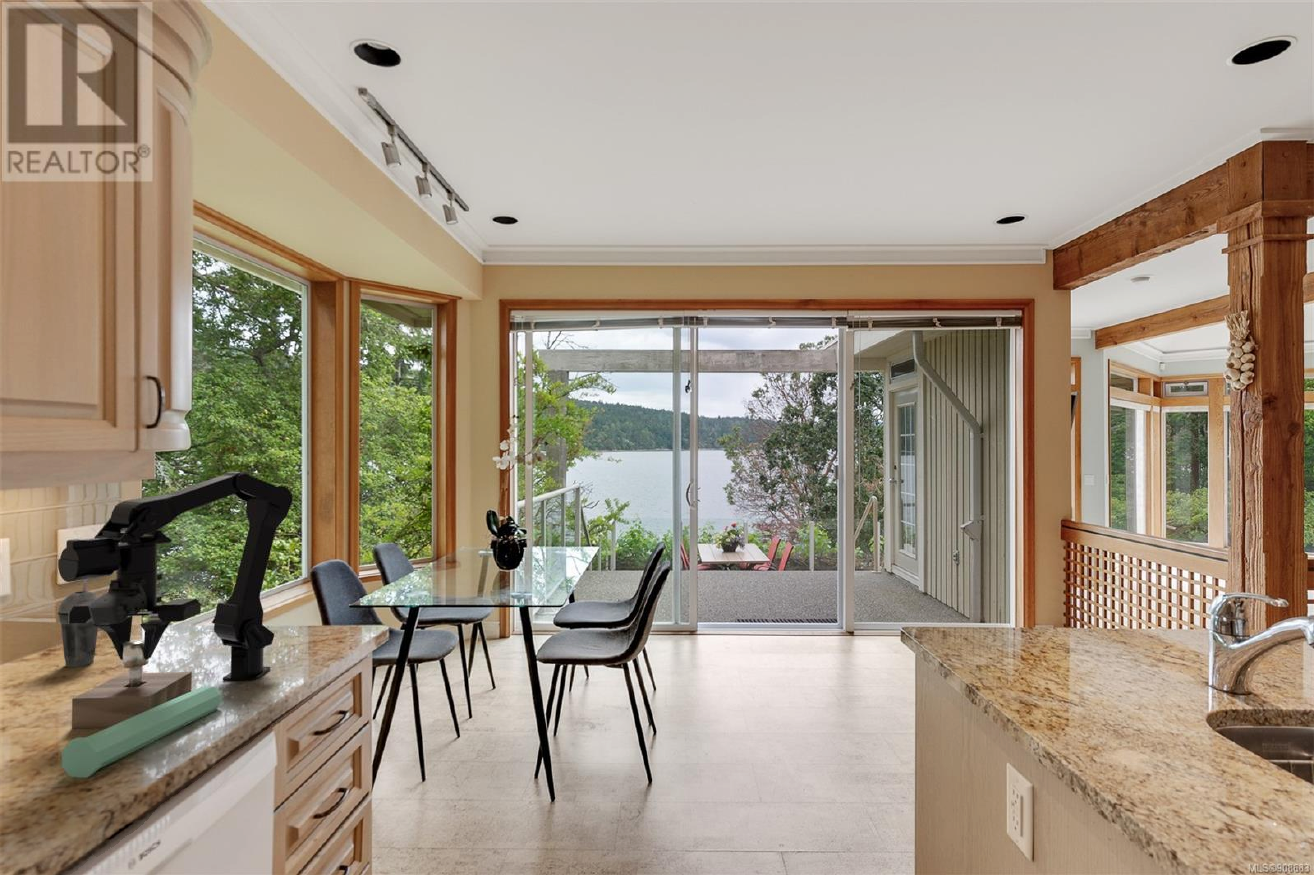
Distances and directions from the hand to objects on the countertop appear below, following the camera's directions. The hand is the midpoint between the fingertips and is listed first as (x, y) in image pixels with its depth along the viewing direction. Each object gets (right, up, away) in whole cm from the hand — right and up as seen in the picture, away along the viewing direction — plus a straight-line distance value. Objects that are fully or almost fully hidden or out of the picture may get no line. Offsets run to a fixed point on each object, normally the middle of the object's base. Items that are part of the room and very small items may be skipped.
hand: (135, 659), depth 116 cm
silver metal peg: (0, -5, 0) cm, 5 cm away
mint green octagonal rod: (+11, -10, -10) cm, 18 cm away
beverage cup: (-32, -10, +25) cm, 41 cm away
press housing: (0, -10, 0) cm, 10 cm away
